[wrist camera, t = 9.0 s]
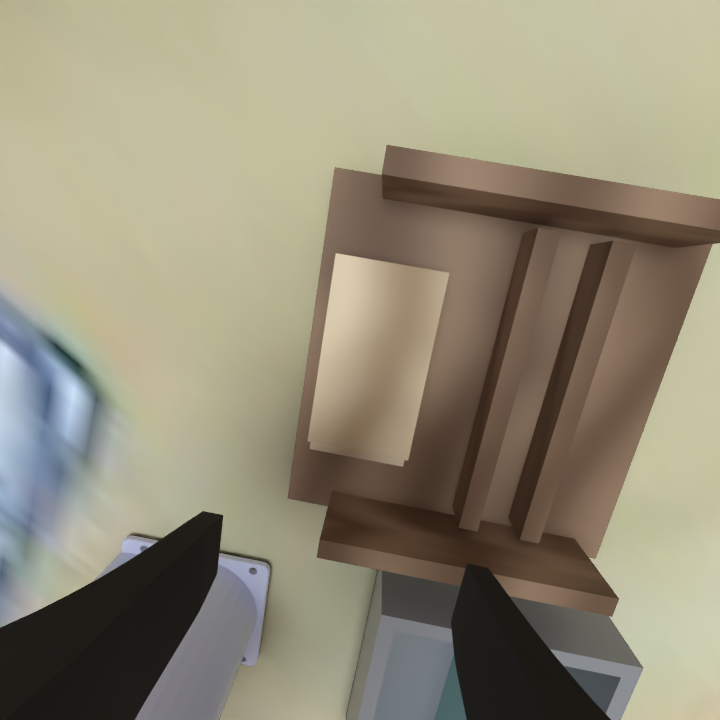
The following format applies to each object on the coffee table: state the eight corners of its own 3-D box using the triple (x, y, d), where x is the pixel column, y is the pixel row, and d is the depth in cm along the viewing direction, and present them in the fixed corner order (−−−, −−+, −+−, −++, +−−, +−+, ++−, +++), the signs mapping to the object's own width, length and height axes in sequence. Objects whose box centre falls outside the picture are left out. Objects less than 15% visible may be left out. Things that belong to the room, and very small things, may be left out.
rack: (290, 492, 22) (265, 547, 17) (336, 171, 18) (320, 133, 13) (589, 551, 21) (644, 623, 17) (706, 232, 17) (818, 215, 13)
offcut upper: (312, 431, 19) (307, 441, 18) (339, 255, 17) (335, 253, 16) (406, 449, 19) (407, 460, 18) (444, 273, 17) (449, 273, 16)
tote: (346, 716, 25) (337, 807, 21) (382, 548, 22) (381, 614, 18) (529, 755, 25) (560, 856, 20) (591, 590, 22) (643, 668, 17)
